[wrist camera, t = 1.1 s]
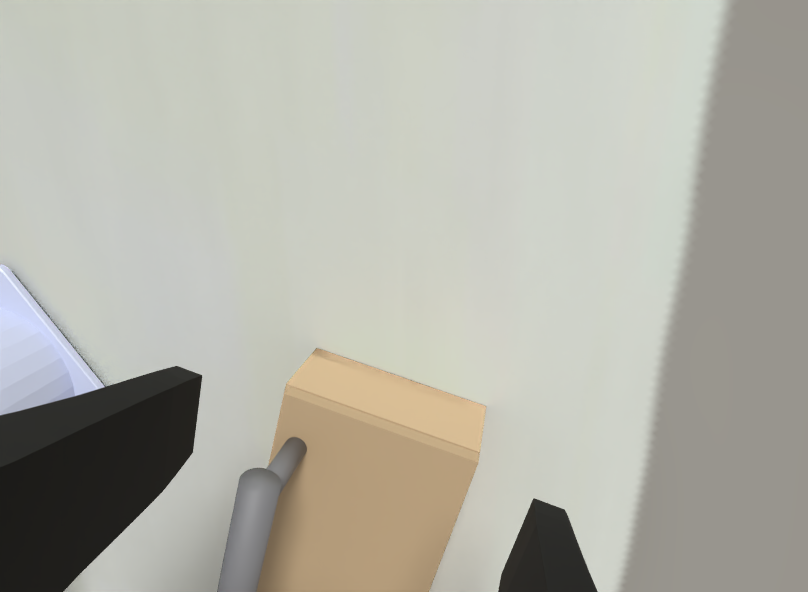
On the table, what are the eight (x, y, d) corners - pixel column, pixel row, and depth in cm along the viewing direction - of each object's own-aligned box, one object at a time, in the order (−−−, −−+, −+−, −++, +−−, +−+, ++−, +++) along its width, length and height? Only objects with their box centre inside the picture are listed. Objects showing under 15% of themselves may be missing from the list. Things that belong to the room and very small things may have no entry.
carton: (262, 580, 27) (230, 636, 25) (316, 347, 23) (286, 383, 20) (400, 634, 27) (385, 698, 24) (486, 406, 22) (479, 452, 19)
